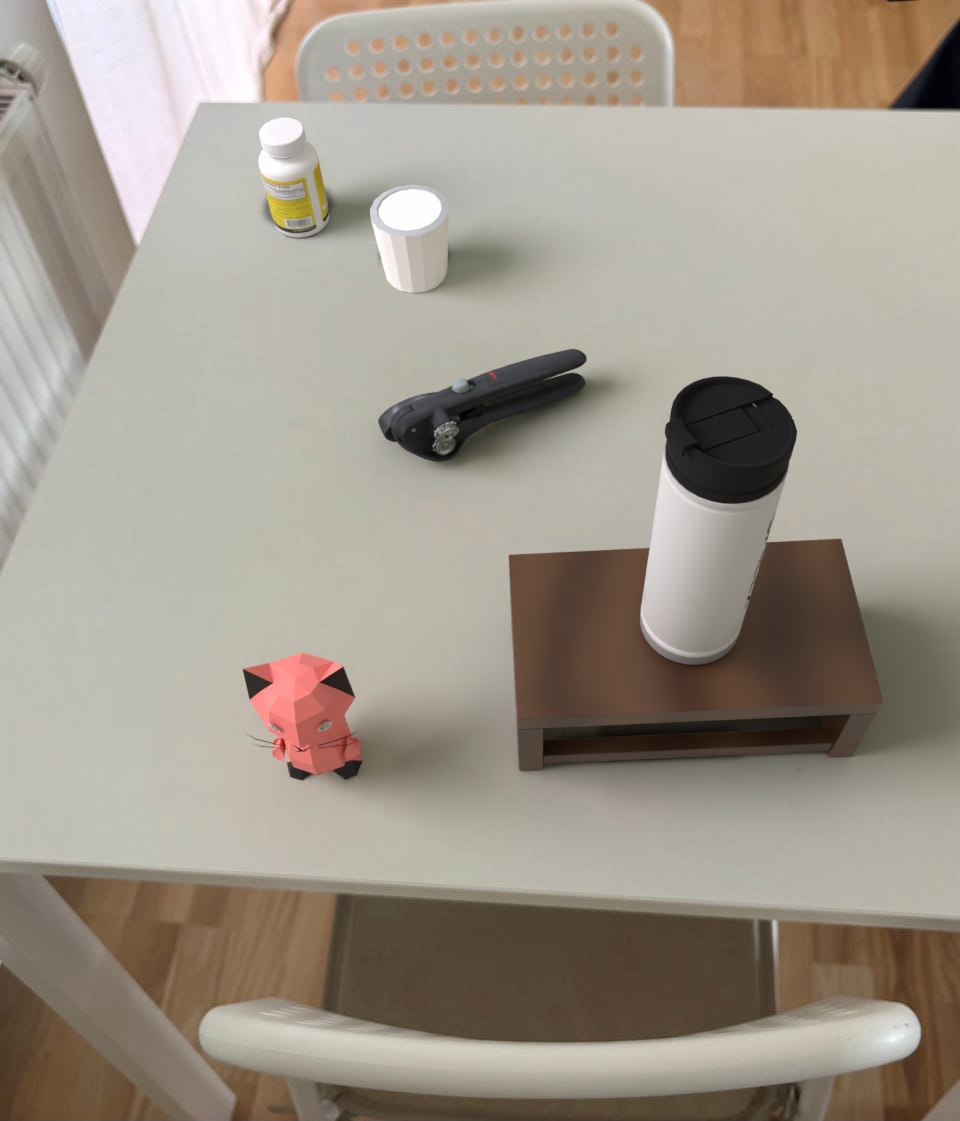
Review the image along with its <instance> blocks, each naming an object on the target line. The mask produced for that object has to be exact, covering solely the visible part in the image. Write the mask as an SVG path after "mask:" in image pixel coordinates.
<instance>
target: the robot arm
mask: <svg viewBox="0 0 960 1121" xmlns="http://www.w3.org/2000/svg"><path fill="white" fill-rule="evenodd" d="M915 1H917V2H918V0H886V2H888V3H896V2H897V3H899V2H915Z"/></svg>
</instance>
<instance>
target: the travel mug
mask: <svg viewBox="0 0 960 1121" xmlns="http://www.w3.org/2000/svg"><path fill="white" fill-rule="evenodd" d="M664 435H665V436H664V437H665V442H664V447H663V454H662V455H663V456H662V461H661V467H660V473H659V474H660V475H659V481H658V489H657V495H656V501H655V508H654V516H653V522H652V529H651V536H650V544H649V548H650V549H649V556H648V563H647V570H646V577H645V584H644V590H643V597H642V604H641V611H640V625H641V630H642V633H643V635H644V637H645V639H646V640H647V642H648V643H649V644H650V646H651V647H652V648H653V649H654V650H655V651H656V652H658V653H659V654H660V655H662V656H664V657H665V658H667V659H669V660H672V661H674V662H677V663H682V664H688V665H699V664H706V663H710V662H713V661H716V660H717V659H719V658H721V657H723V656H724V655H725V654H727V653H728V652H729V651H730V650H731V649H732V647H733V646H734V645H735V643H736V641H737V639H738V636H739V633H740V630H741V627H742V623H743V620H744V617H745V613H746V610H747V607H748V603H749V600H750V597H751V593H752V590H753V587H754V583H755V580H756V576H757V573H758V570H759V566H760V563H761V560H762V556H763V553H764V550H765V546H766V543H767V542H768V541H769V536H770V532H771V529H772V527H773V523H774V520H775V517H776V513H777V509H778V507H779V502H780V499H781V496H782V493H783V489H784V486H785V483H786V478H787V477H788V473H789V468H790V461H791V459H792V456H793V452H794V448H795V445H796V441H797V437H798V429H797V426H796V423H795V420H794V418H793V415H792V414H791V413H790V411H789V410H788V408H787V407H786V406H785V404H783V403H782V401H781V400H780V399H778V398H776V397H774V393H773V392H772V391H770V390H769V389H767V388H766V387H764V386H763V385H762V384H760V383H757V382H754V381H752V380H749V379H746V378H742V377H736V376H728V375H720V376H716V375H715V376H710V377H703V378H701V379H698V380H695V381H692V382H691V383H689V384H687V385H686V386H684V387H683V388H682V389H681V390H680V391H679V392H678V393H677V394H676V396H675V398H674V399H673V401H672V403H671V408H670V415H669V421H668V422H666V423H665V427H664Z"/></svg>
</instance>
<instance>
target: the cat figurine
mask: <svg viewBox="0 0 960 1121" xmlns="http://www.w3.org/2000/svg"><path fill="white" fill-rule="evenodd" d="M242 673H243V678H244V681H245V686H246V691H247V696H248V700H249V701H250V703H251V705H252V706H253V709H254V710H255V711H256V713H257V714H258V716H259V718H260V719H261V721H262V723H263V724H264V726H265V727H266V729H267V731H268V732H269V733H271V734H273V735H275V736H277V737H278V738H275V739H273V741H272V742H271V741H267V740H264V739H259V738H255V737H253V736H252V735H250V734H247V733H245V732H244V734H246V735H247V736H249V737H250V738H251V739H254V740H255V741H259V742H264V743H268V744H272V745H273V746H268V745H258V744H256V743H254V745H255V746H257V747H261V748H270V749H271V748H272V750H271V753H272V757H273V758H276V760H279V761H281V762H283V763H285V756H286V753H287V756H288V760H287V761H286V765H287V769H288V773H289V777H290V778H292V779H295V780H299V781H303V780H305V779H306V778H308V777H309V776H310V775H312V774H314V775H316V776H319V775H323V774H326V773H328V772H331V771H332V772H334V773H335V774H336V775H338V776H339V777H340V778H341V779H343V780H348V779H351V778H354V777H356V776H358V774H359V771H360V769H361V766H362V764H363V759H362V756H361V744H362V743H361V742H360V739H358V738H356V737H353V736H352V735H354V734H356V733H357V732H358V730H356V731H354V732H352V731H351V729H350V726H349V723H348V722H347V718H346V714H347V712H348V710H349V709H350V707H351V705H353V703H354V701H355V699H356V695H355V693H354V690H353V687H352V685H351V682H350V679H349V677H348V675H347V674H348V673H347V672H346V669H345V666H344V665H342V664H340V663H338V662H336V661H334V660H329V659H326V658H322V657H319V656H315V655H312V654H308V653H305V652H300V653H297V654H294V655H290V656H287V657H285V658H281V659H278V660H275V661H271V662H268V663H263V664H259V665H254V666H250V667H249V666H248V667H245V668H242Z"/></svg>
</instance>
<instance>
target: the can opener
mask: <svg viewBox="0 0 960 1121" xmlns="http://www.w3.org/2000/svg"><path fill="white" fill-rule="evenodd" d="M587 361H588V357H587V355H586V353H584V352H583V351H582V350H580V349H577V348H569V349H564V350H560V351H555V352H551V353H547V354H542V355H538V356H535V357H531V358H528V359H524V360H521V361H517V362H514V363H511V364H510V363H509V364H507V365H504V366H501V367H498V368H495V369H491V370H489V371H485V372H483V373H481V374H479V375H477V376H474V377H470V378H468V379H466V378H459V379H457V380H456V381H455V382H453V383H452V385H451V386H447V387H446V388H444V389H443V388H442V389H441V390H439V391H433V392H426V393H422V394H421V393H420V394H418V395H414V396H410V397H409V398H406V399H404V400H401V401H399V402H397V403H396V404H394V405H392V406H390V407H388V408H387V409H386V410H384V411H383V413H382V414H380V415H379V417H378V421H377V422H378V427H379V428H380V430H381V433H382V435H383V436H384V438H385V440H387V441H389V442H392V443H397V444H398V445H399V446H400V447H401V448H402V449H403V450H405V451H406V452H408V453H410V454H412V455H414V456H417V457H418V458H421V459H423V460H427V461H430V462H434V463H445V462H448V461H451V460H452V459H454V458H455V457H456V456H457V455H458V453H459V452H460V451H461V449H462V448H463V445H464V444H465V442H467V441H466V440H468V439H469V438H470V437H471V436H472V435H474V434H475V433H477V432H479V431H480V430H482V429H483V428H485V427H487V426H489V425H491V424H494V423H496V422H499V421H502V420H505V419H509V418H512V417H515V416H518V415H521V414H522V415H523V414H525V413H528V412H532V411H534V410H539V409H542V408H544V407H546V406H549V405H552V404H553V403H554V404H555V403H556V402H559V401H561V400H563V399H565V398H567V397H569V396H571V395H573V394H575V393H577V392H580V390H582V389H583V388H584V387H585V385H586V379H585V378H584V376H583V375H582V374H580V373H577V372H570V371H574V370H576V369H579V368H582V366H583V365H585V364H586V363H587Z"/></svg>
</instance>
